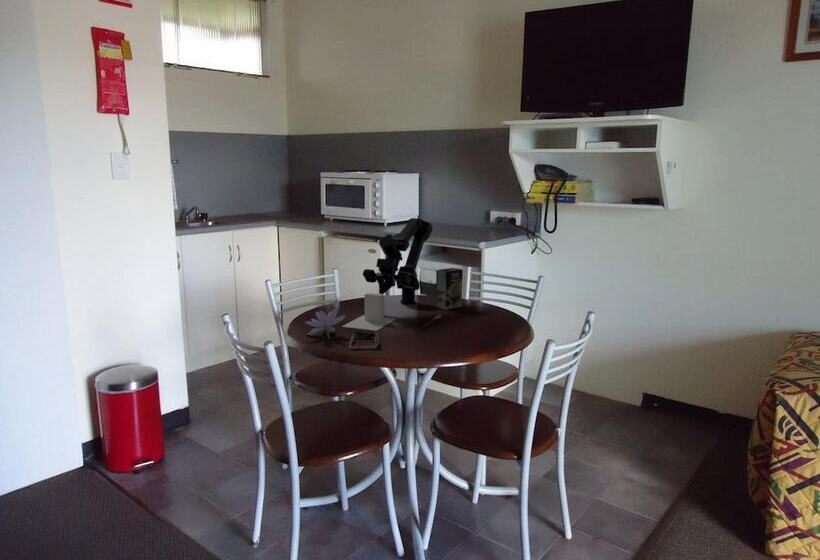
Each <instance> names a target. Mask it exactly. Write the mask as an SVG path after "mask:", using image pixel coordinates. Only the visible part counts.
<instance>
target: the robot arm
mask: <svg viewBox="0 0 820 560" xmlns="http://www.w3.org/2000/svg"><path fill="white" fill-rule="evenodd" d="M433 229H434V228H433V225H432V224H431V222H428V221H425V220H423V219H422V218H418V217H415V218H414V217H411V218H409V219H408V222H407V224H406V225H405V226H404V227H403V229H402V230H401V231H400V232H399V233H396V234H394V235H392V234H391V233H390V234H388V233H387V234H386V235H385V236H383V237H381V239H379V241H378V244H379V247H380V249H381V251H382V253H383V254H384V255H385V256H386V257H385V258H377V260H376V266H375V267H376V268H378V272H375V269H369V268H365V269H364V270H363V272H362V277H363V278H364V279H365V281H366V282H367V283H374V284H375V283H376V282H377V284H378V294H383V295H384V294H385V293H386V292H388V291H389V290H390V289H391V288H394V287H396V288H397V289H398V290H399V289H401V299H399V301H400V303H401V305H415V304H417V300H416V291H417V290H420V287H421V286H420V285H421V283H420V282H419V279H418V274H417V266H418V263H419V260H420V257H421V253H422V250H423V247H424V243H425V242H426V241H428V239H429V238H430V237H431V235H432V233H433ZM412 238H413V240H412V243H411V246H410V241H411V239H412ZM409 247H410V249H409ZM408 249H409V252H408V255H407V259H406V261H405V264H404V266H402V265H401V266H400V267H399V264H400V262H401V261H403V256H402V255H403V254H402V252H406V251H407V250H408ZM398 267H399V268H398ZM396 273H397V274H396Z"/></svg>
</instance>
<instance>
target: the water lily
mask: <svg viewBox="0 0 820 560" xmlns="http://www.w3.org/2000/svg"><path fill="white" fill-rule="evenodd" d="M338 311H339V308H338V307H336V308H334V309H333V310H332V311H329V312H328V313H325V312H324V311H323V310H319V311H315V316H316V318H317V319H316V318H311V319H310V320H311V321H309V320H307V321H304V324H307V325H308V326H311V327H315V328H312V329H311V330H310V331H309V332H307V334H306V336H307V335H310V336H313V335H317V334H318V333H320V332H322V331H324V330H325V332H326V335H327V338H328V340H331V336H330V333H335V331H336V328H335V327H333V326H335V325H336V324H337V325H338V324H339V323H340V322H341V321H342V320H344V319H345V318H346V315H340V316H338V317H337V316H336V315H337V313H338ZM326 314H327V315H326Z"/></svg>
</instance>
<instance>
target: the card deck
mask: <svg viewBox="0 0 820 560" xmlns="http://www.w3.org/2000/svg"><path fill="white" fill-rule="evenodd" d="M384 302H385V301H384V294H379V293H376V292H375V293H373V292H367V293H365V294H364V315H365V320H369V321H378V322H381V321H382V320H384V316H385V315H384V314H385V313H384Z"/></svg>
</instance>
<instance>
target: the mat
mask: <svg viewBox="0 0 820 560" xmlns="http://www.w3.org/2000/svg"><path fill="white" fill-rule="evenodd" d="M395 320H396V318H392V317H384V320H382V321H381V322H378V321H369V320H365V314H363V315H360V316H359V317H357V318H355V319H353V320H352V321H349V322H348V323H346V324H343V325H342V326H341V328H342V327H343V328H349V329H350V328H352V329H358V330H368V331H376V332H377V331H378V330H380V329H382V328H384V327H385V326H387V325H388V324H390V323H392V322H394V321H395Z"/></svg>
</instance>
